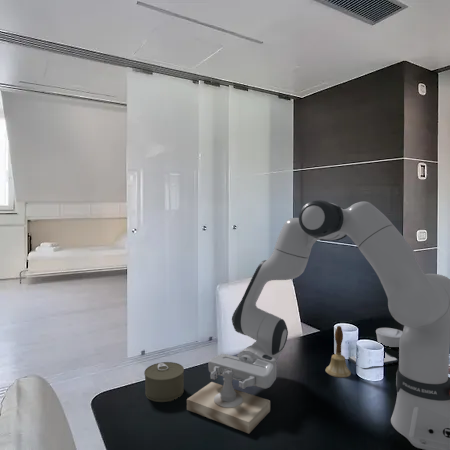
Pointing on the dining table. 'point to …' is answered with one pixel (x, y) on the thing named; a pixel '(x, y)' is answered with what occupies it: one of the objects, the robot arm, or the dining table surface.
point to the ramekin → (389, 336)
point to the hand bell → (338, 358)
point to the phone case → (387, 359)
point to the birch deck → (229, 407)
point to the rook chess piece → (228, 387)
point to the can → (164, 381)
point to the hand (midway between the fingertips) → (226, 381)
